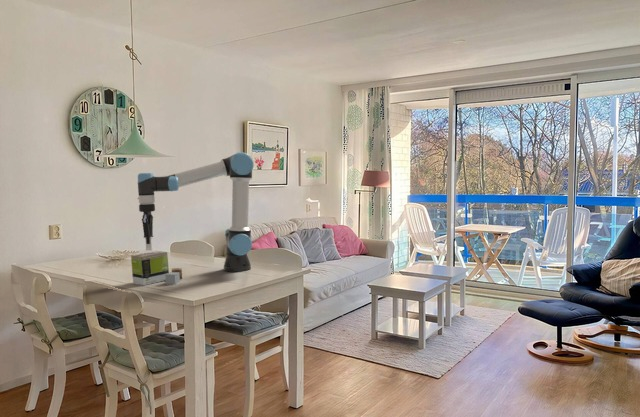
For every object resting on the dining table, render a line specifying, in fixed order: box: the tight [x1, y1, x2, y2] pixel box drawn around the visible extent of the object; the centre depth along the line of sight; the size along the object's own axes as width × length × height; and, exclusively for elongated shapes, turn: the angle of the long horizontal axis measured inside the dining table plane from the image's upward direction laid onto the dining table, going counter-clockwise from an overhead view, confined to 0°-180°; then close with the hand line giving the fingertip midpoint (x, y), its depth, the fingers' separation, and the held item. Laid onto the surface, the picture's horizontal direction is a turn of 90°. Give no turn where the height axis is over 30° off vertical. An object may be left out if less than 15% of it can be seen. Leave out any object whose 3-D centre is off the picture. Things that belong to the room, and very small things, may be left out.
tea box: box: [130, 250, 170, 286], centre depth 248 cm, size 15×10×15 cm
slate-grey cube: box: [165, 271, 181, 285], centre depth 243 cm, size 5×5×5 cm
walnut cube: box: [171, 267, 183, 280], centre depth 254 cm, size 5×5×5 cm
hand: (149, 250), depth 247 cm, fingers closed
